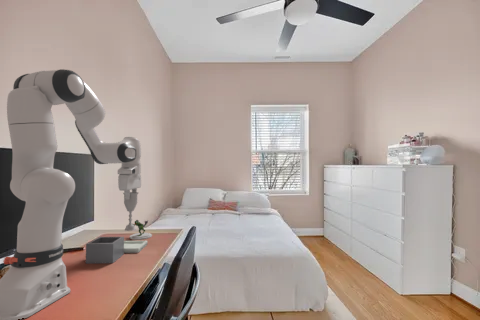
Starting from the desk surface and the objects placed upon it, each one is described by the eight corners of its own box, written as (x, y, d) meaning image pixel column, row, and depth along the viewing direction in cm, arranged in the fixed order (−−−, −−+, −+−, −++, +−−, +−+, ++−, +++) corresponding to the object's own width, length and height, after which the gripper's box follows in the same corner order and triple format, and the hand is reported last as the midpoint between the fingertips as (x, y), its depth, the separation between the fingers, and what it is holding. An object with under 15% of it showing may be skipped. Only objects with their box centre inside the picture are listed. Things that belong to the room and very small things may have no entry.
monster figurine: (125, 237, 146) (125, 219, 146) (144, 233, 155) (144, 216, 156) (137, 241, 139) (137, 221, 139) (156, 236, 148) (156, 218, 148)
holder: (112, 263, 106) (113, 243, 106) (85, 263, 105) (86, 243, 105) (123, 254, 117) (124, 236, 117) (99, 254, 116) (99, 236, 116)
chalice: (118, 230, 124) (119, 193, 124) (129, 227, 130) (130, 191, 131) (130, 231, 121) (131, 193, 122) (141, 228, 127) (141, 192, 128)
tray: (138, 252, 119) (138, 248, 119) (110, 253, 118) (110, 248, 118) (147, 244, 132) (147, 240, 132) (121, 244, 131) (121, 240, 131)
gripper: (132, 170, 137) (132, 196, 136) (115, 170, 116) (115, 200, 116) (144, 170, 137) (144, 196, 136) (129, 170, 117) (129, 200, 116)
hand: (130, 198), depth 126 cm, fingers closed on chalice, 6 cm apart
